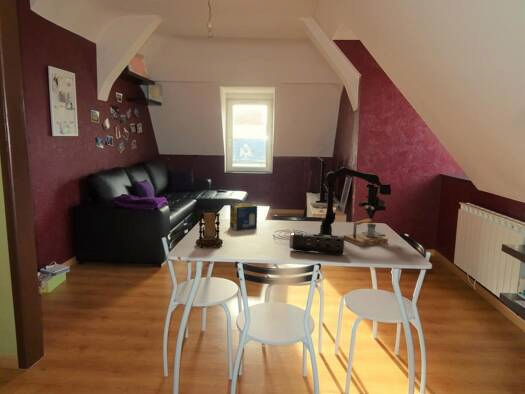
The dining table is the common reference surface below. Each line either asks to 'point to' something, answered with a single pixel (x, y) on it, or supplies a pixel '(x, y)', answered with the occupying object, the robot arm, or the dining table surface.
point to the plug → (371, 230)
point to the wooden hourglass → (209, 230)
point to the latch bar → (358, 224)
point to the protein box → (243, 216)
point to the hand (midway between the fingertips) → (371, 219)
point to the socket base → (365, 239)
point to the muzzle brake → (317, 243)
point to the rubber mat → (377, 233)
